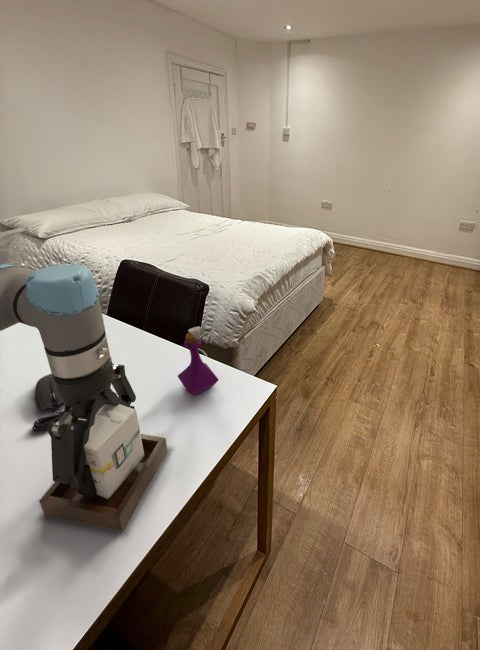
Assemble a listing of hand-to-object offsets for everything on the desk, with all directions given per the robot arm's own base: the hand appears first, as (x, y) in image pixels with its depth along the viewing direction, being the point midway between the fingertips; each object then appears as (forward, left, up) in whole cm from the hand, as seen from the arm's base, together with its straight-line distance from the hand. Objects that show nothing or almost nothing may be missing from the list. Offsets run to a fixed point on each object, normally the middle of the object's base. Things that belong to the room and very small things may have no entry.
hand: (108, 464), depth 57 cm
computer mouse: (-23, +16, -4) cm, 28 cm away
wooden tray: (0, 0, -4) cm, 4 cm away
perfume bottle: (+6, +24, -4) cm, 25 cm away
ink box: (0, 0, -1) cm, 1 cm away
